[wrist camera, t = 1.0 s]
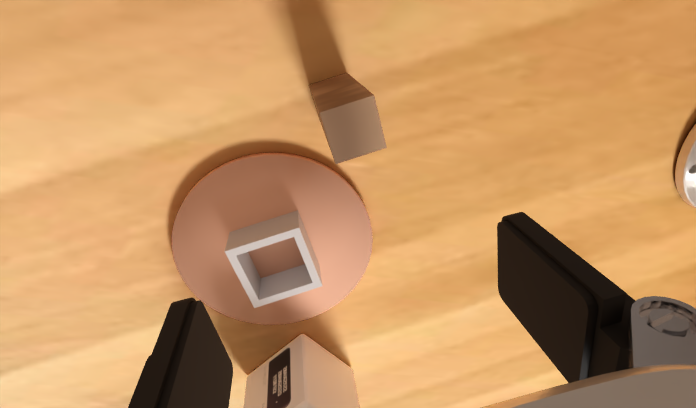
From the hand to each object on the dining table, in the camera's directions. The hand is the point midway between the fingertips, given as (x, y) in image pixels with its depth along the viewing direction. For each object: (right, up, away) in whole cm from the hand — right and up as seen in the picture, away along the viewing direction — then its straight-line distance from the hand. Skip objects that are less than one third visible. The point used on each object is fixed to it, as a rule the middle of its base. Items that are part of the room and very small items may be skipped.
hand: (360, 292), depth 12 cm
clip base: (-6, -1, +20) cm, 21 cm away
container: (-5, -14, +27) cm, 31 cm away
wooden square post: (-1, +10, +15) cm, 19 cm away
